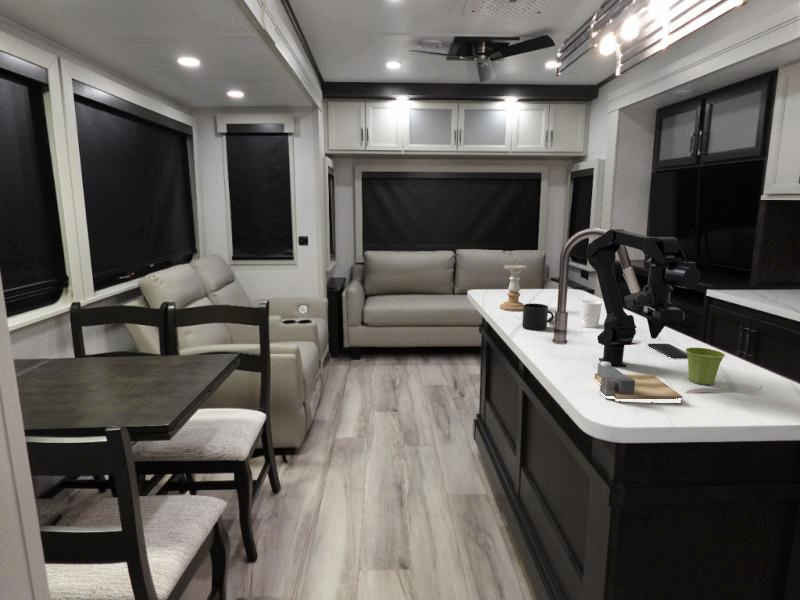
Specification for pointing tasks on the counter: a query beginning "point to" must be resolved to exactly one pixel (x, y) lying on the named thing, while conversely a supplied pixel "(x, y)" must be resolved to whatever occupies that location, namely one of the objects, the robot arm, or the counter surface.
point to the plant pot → (703, 364)
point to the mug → (536, 316)
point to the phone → (669, 350)
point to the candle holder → (513, 289)
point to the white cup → (590, 313)
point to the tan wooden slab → (638, 387)
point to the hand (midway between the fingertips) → (653, 338)
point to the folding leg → (617, 378)
